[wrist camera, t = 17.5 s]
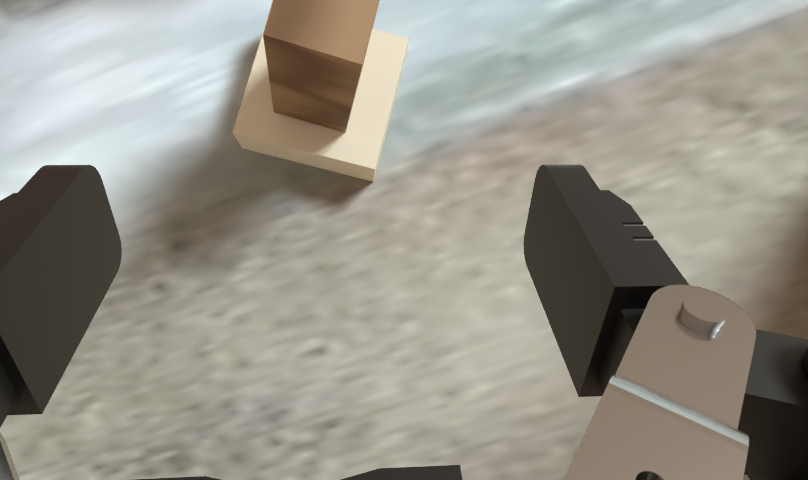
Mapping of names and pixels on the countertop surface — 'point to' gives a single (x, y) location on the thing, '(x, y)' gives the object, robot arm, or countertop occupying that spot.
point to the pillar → (317, 57)
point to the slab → (322, 144)
